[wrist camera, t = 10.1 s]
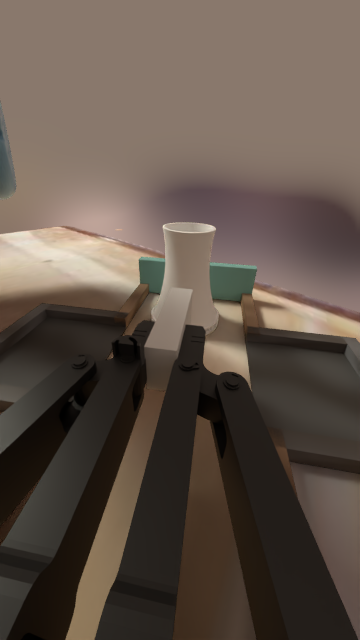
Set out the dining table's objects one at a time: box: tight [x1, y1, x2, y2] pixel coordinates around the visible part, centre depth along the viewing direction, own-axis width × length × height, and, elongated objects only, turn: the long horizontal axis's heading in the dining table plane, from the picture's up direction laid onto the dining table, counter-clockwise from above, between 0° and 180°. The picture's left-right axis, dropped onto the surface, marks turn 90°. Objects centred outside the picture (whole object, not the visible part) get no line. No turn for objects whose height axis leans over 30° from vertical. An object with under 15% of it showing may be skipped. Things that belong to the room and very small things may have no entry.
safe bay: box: [139, 257, 257, 301], centre depth 31 cm, size 1×15×4 cm, turn 81°
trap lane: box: [0, 283, 360, 526], centre depth 20 cm, size 27×33×1 cm
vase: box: [151, 222, 219, 336], centre depth 24 cm, size 8×8×10 cm
